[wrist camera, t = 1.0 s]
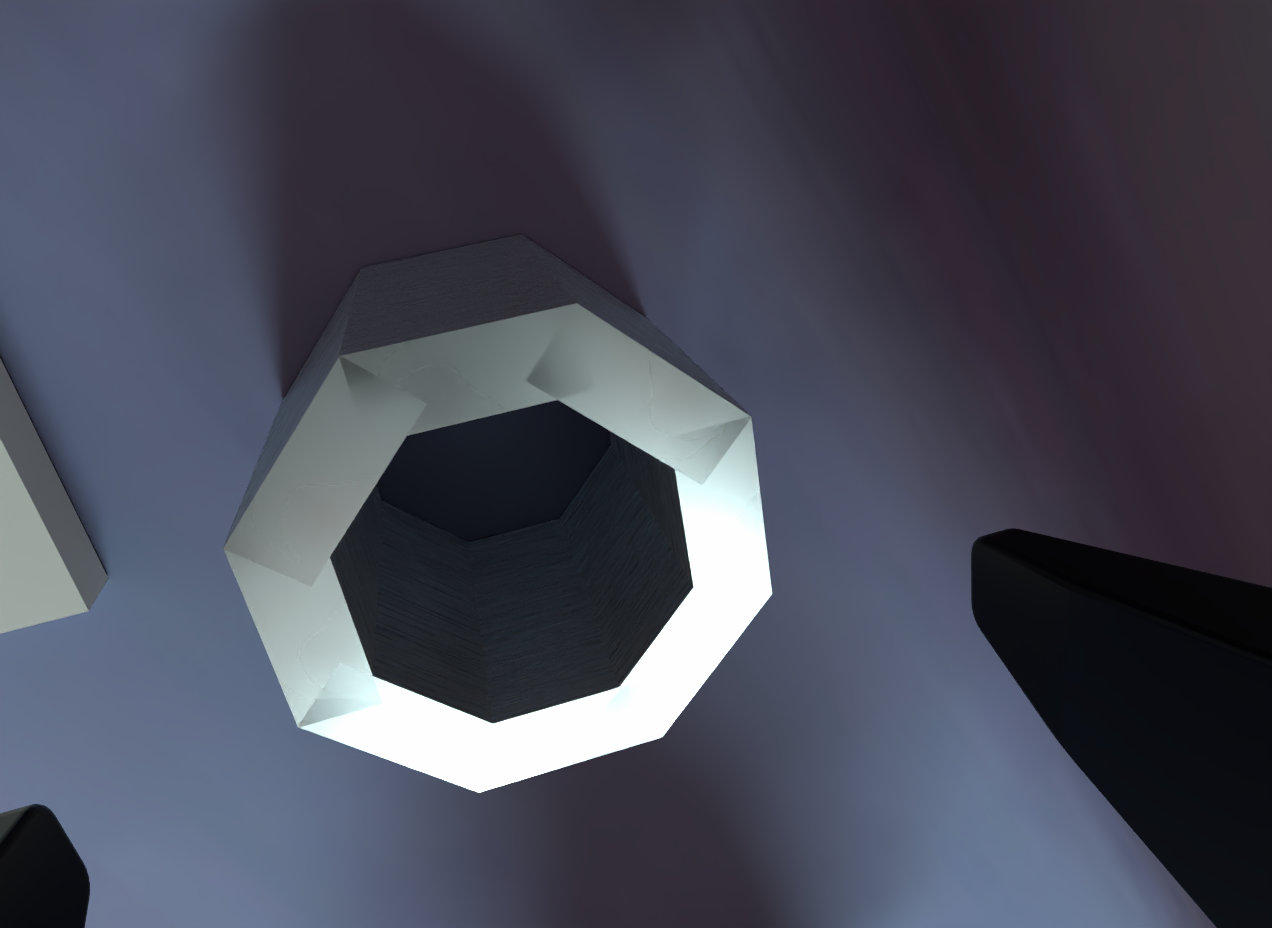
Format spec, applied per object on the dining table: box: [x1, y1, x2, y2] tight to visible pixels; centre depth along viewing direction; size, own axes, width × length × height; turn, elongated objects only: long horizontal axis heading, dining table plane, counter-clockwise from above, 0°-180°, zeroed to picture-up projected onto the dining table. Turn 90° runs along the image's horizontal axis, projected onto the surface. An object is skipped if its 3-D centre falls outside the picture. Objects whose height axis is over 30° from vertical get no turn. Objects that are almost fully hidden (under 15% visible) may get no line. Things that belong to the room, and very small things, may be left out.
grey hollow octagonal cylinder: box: [223, 234, 772, 793], centre depth 13 cm, size 6×6×5 cm
